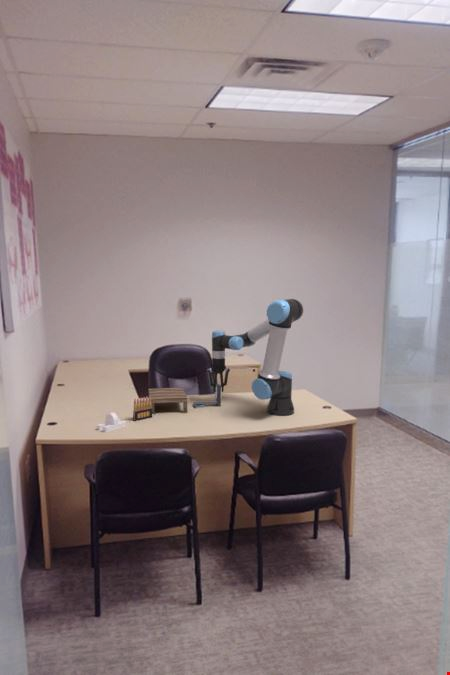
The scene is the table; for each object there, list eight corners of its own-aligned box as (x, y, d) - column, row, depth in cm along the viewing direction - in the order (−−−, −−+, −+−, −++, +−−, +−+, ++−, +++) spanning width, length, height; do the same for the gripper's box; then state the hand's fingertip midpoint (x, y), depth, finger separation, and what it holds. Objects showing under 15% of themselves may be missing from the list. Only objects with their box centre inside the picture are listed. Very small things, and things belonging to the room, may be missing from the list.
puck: (205, 407, 289) (205, 405, 289) (196, 407, 288) (196, 406, 288) (204, 405, 294) (204, 403, 294) (195, 405, 293) (195, 403, 292)
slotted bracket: (118, 423, 258) (117, 409, 257) (126, 426, 254) (126, 411, 253) (97, 429, 248) (96, 414, 247) (105, 433, 244) (105, 417, 243)
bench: (187, 412, 277) (187, 397, 276) (150, 414, 274) (150, 399, 272) (182, 401, 301) (182, 387, 299) (148, 402, 297) (148, 388, 296)
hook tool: (221, 406, 289) (221, 386, 288) (195, 407, 286) (195, 387, 285) (218, 403, 296) (218, 383, 295) (193, 404, 293) (193, 384, 292)
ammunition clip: (134, 421, 262) (134, 398, 260) (133, 420, 263) (132, 398, 262) (152, 417, 268) (152, 395, 267) (150, 416, 270) (150, 395, 268)
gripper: (229, 356, 294) (229, 395, 297) (204, 356, 291) (204, 396, 294) (232, 358, 287) (232, 398, 290) (206, 359, 284) (206, 399, 287)
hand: (218, 397), depth 292 cm, fingers closed on hook tool, 2 cm apart
